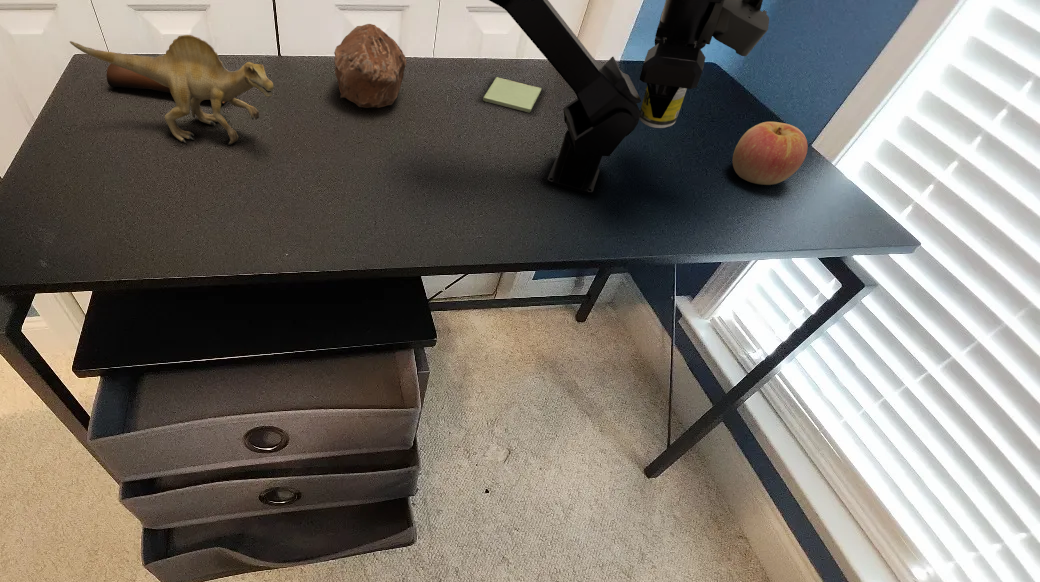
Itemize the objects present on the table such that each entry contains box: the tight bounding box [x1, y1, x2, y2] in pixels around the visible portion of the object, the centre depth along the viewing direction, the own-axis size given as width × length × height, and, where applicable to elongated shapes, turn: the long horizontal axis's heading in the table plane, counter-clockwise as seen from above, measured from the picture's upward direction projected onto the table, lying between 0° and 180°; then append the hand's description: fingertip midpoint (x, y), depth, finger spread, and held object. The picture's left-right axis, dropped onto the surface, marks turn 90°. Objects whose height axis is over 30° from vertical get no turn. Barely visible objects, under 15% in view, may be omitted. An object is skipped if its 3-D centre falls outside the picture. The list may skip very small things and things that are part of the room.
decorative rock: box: [333, 23, 407, 109], centre depth 92 cm, size 13×11×10 cm
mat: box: [482, 76, 543, 114], centre depth 99 cm, size 8×8×1 cm
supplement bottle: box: [639, 86, 688, 129], centre depth 75 cm, size 5×5×8 cm
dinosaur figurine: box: [69, 34, 275, 145], centre depth 82 cm, size 8×26×13 cm, turn 81°
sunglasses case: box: [106, 63, 226, 105], centre depth 92 cm, size 18×7×7 cm
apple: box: [732, 121, 809, 186], centre depth 86 cm, size 9×9×8 cm
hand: (659, 107), depth 77 cm, fingers closed on supplement bottle, 5 cm apart
